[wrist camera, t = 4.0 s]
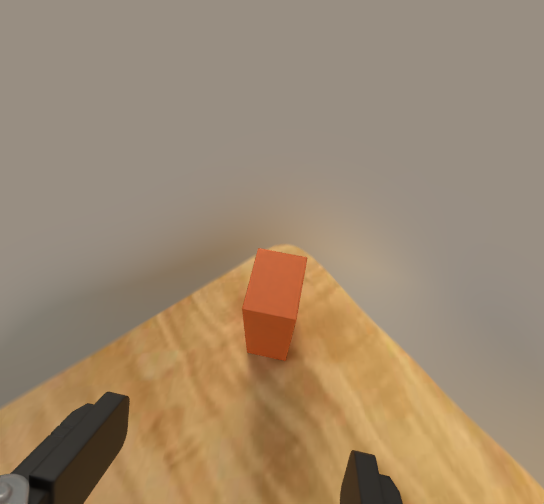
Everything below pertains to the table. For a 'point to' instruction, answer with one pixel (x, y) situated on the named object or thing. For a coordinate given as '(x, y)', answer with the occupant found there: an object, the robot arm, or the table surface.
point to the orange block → (272, 302)
